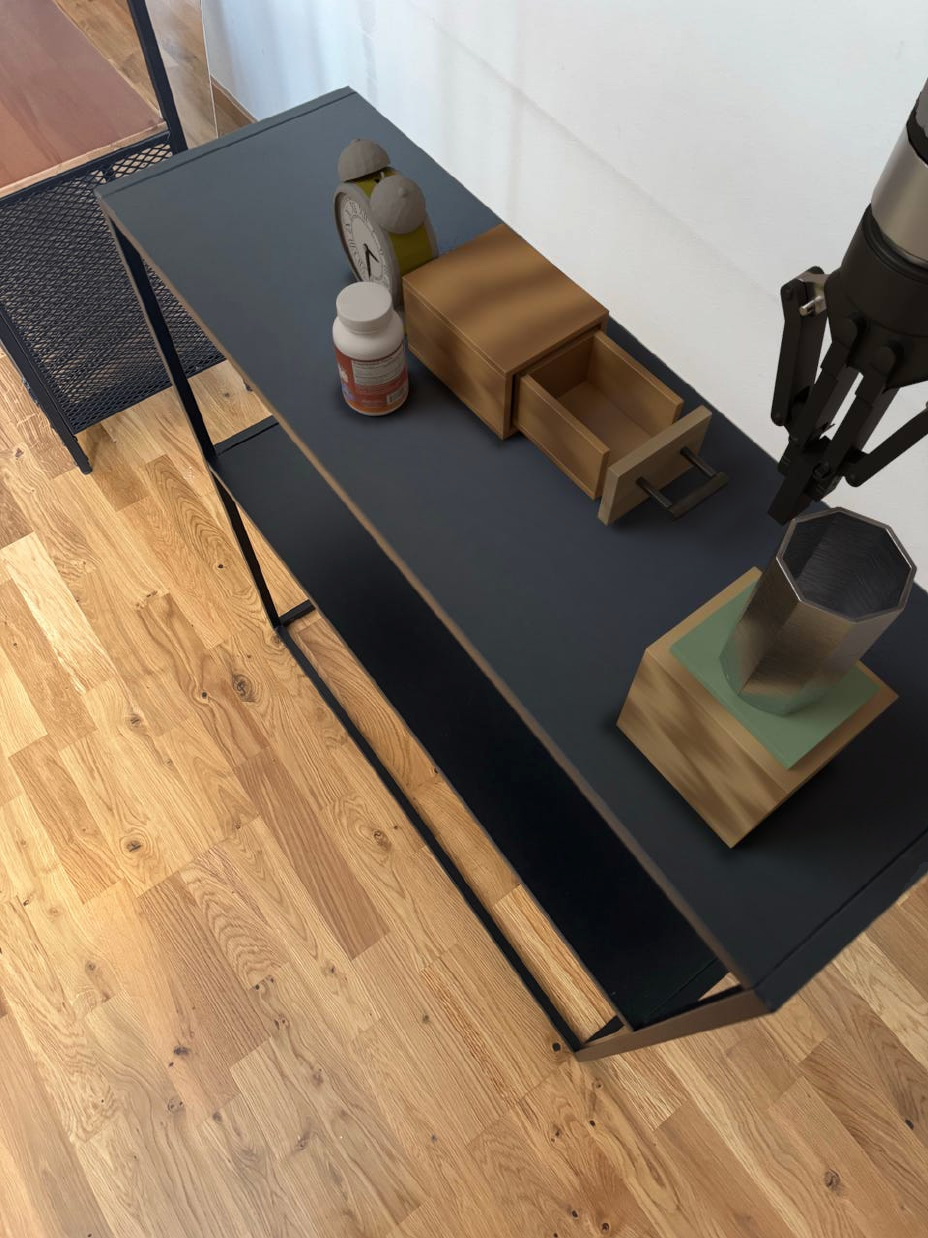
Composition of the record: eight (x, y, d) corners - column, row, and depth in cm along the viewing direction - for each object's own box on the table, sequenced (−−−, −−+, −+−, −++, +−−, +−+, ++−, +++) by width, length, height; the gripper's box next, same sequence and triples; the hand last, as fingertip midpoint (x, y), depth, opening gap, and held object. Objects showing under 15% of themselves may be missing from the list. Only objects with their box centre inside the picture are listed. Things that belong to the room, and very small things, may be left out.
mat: (876, 693, 54) (881, 688, 54) (787, 771, 52) (791, 766, 51) (755, 583, 58) (759, 577, 57) (668, 651, 56) (670, 645, 55)
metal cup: (839, 646, 55) (927, 540, 44) (808, 732, 52) (893, 640, 42) (741, 604, 56) (804, 491, 46) (706, 686, 54) (763, 586, 43)
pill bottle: (346, 368, 85) (329, 274, 75) (410, 368, 85) (402, 274, 75) (341, 418, 82) (323, 326, 72) (407, 418, 82) (399, 326, 72)
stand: (825, 765, 66) (899, 696, 54) (730, 849, 63) (788, 794, 51) (708, 651, 70) (755, 565, 59) (615, 724, 67) (645, 648, 56)
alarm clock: (341, 277, 91) (319, 137, 78) (398, 252, 92) (386, 111, 79) (399, 346, 86) (385, 211, 73) (458, 319, 88) (455, 182, 75)
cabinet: (597, 381, 84) (609, 310, 76) (502, 440, 80) (505, 372, 73) (500, 296, 89) (502, 222, 82) (407, 348, 86) (401, 276, 78)
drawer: (734, 500, 76) (756, 449, 70) (646, 564, 73) (661, 516, 67) (591, 375, 83) (601, 319, 77) (505, 429, 80) (508, 375, 74)
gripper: (1113, 265, 41) (894, 543, 62) (889, 127, 46) (756, 428, 67) (1014, 339, 39) (822, 601, 60) (790, 186, 44) (685, 477, 64)
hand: (787, 509), depth 63 cm, fingers closed
